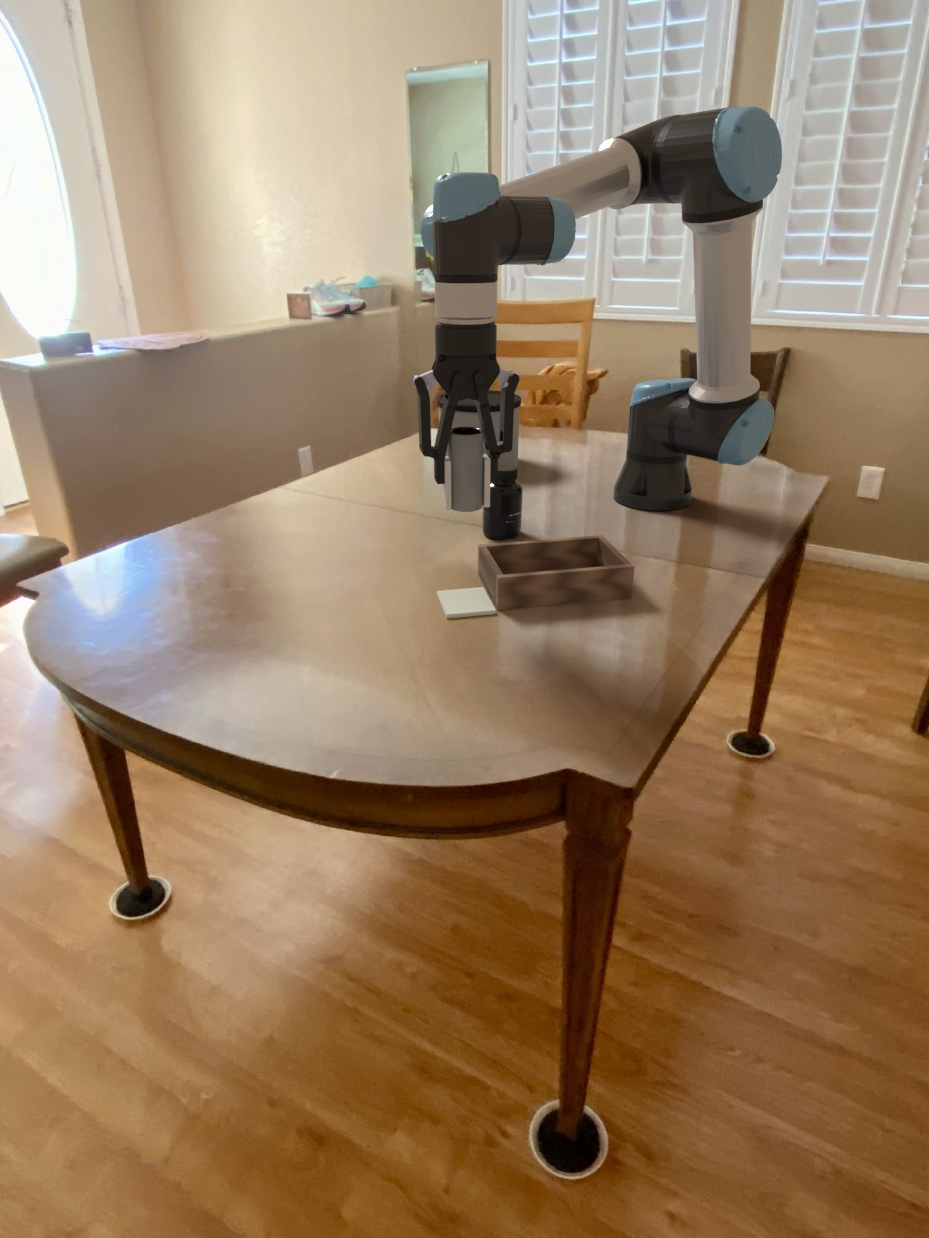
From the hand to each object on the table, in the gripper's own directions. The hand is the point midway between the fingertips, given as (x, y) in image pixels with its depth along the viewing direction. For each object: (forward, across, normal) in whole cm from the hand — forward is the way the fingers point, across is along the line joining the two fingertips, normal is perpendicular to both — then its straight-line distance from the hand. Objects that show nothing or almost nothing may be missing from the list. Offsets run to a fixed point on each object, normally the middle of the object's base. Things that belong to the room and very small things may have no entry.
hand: (466, 505), depth 103 cm
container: (+15, -18, -74) cm, 78 cm away
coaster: (+15, 0, 0) cm, 15 cm away
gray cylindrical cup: (0, 0, 0) cm, 0 cm away
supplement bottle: (+15, -12, -27) cm, 33 cm away
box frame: (+15, -14, -4) cm, 21 cm away
